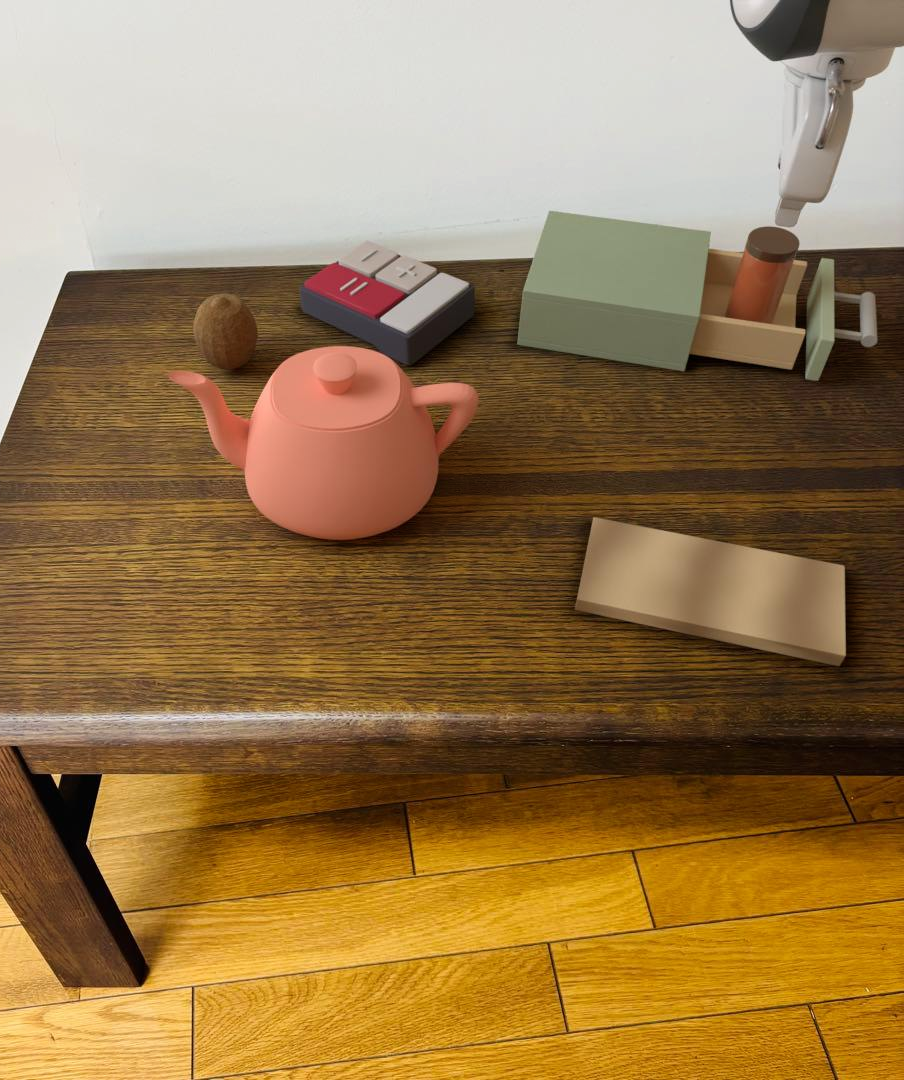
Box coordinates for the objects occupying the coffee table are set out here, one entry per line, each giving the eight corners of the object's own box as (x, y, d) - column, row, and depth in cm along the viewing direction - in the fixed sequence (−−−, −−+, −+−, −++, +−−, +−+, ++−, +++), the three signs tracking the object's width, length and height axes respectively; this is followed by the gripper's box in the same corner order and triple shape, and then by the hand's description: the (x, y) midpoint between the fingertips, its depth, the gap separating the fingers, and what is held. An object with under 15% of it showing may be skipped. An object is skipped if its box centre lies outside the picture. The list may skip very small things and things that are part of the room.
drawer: (863, 305, 102) (880, 265, 99) (866, 389, 94) (885, 348, 90) (666, 277, 106) (675, 238, 103) (652, 355, 98) (662, 315, 94)
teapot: (182, 555, 84) (151, 440, 74) (204, 420, 95) (181, 303, 85) (478, 551, 84) (488, 434, 73) (467, 416, 95) (474, 297, 84)
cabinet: (696, 286, 107) (711, 231, 102) (684, 371, 98) (699, 316, 93) (542, 264, 110) (549, 210, 105) (517, 344, 101) (522, 290, 96)
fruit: (187, 367, 100) (173, 301, 94) (231, 337, 103) (220, 271, 97) (230, 393, 98) (219, 326, 92) (274, 360, 101) (266, 294, 95)
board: (838, 576, 81) (845, 565, 80) (839, 667, 75) (846, 655, 74) (591, 528, 85) (593, 516, 84) (574, 610, 79) (577, 598, 78)
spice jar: (773, 308, 101) (800, 229, 94) (771, 336, 98) (799, 257, 91) (726, 301, 102) (749, 223, 95) (723, 329, 99) (747, 250, 92)
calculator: (365, 234, 108) (476, 278, 101) (368, 269, 112) (476, 314, 104) (296, 281, 103) (408, 331, 96) (300, 316, 106) (410, 367, 99)
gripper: (885, 99, 72) (822, 264, 82) (876, -13, 84) (822, 142, 95) (793, 90, 73) (743, 253, 84) (797, -20, 86) (753, 134, 96)
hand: (785, 193), depth 89 cm, fingers open, 8 cm apart
